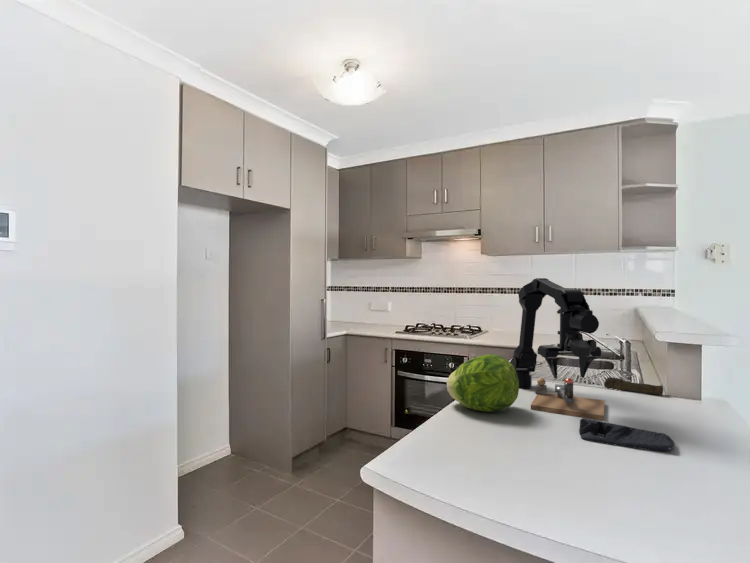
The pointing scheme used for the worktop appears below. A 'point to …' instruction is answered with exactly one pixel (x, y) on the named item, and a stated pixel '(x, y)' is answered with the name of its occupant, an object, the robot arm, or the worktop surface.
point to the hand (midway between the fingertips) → (568, 377)
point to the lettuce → (484, 383)
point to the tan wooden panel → (566, 404)
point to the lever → (566, 390)
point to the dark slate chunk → (624, 435)
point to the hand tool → (633, 386)
